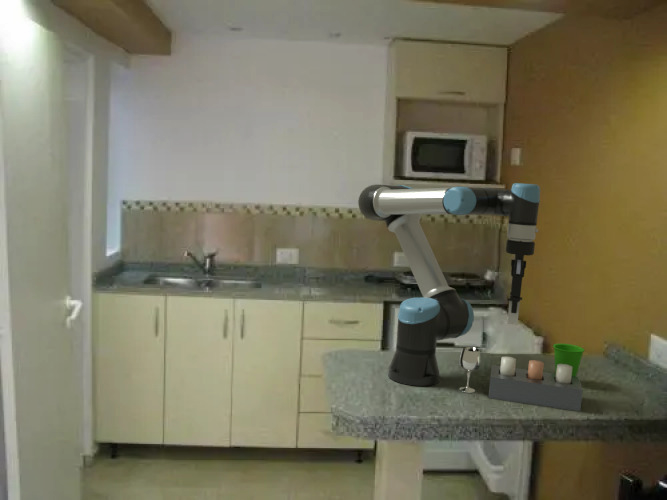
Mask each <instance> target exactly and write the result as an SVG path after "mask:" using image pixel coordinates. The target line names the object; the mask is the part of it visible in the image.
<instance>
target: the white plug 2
mask: <svg viewBox="0 0 667 500" xmlns="http://www.w3.org/2000/svg"><path fill="white" fill-rule="evenodd" d="M555 374H556V380H555V382H558V383H565V384H571V376H572V366H570V365H566V364H557V371H556V372H555Z"/></svg>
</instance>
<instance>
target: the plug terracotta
mask: <svg viewBox="0 0 667 500" xmlns="http://www.w3.org/2000/svg"><path fill="white" fill-rule="evenodd" d="M544 366H545V363H544V361H541V360H537V359H536V360H535V359H533V360H531V359H530V360H529V361H528V367H527V368H528V369H527V370H528V376H527V378H530V379H537V380H542V377H543V372H544V368H545V367H544Z"/></svg>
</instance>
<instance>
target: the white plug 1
mask: <svg viewBox="0 0 667 500" xmlns="http://www.w3.org/2000/svg"><path fill="white" fill-rule="evenodd" d="M516 365H517V358H515V357H512V356H501V359H500V366H501V368H500V374H501V375H508V376H514V375H515V368H516Z"/></svg>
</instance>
